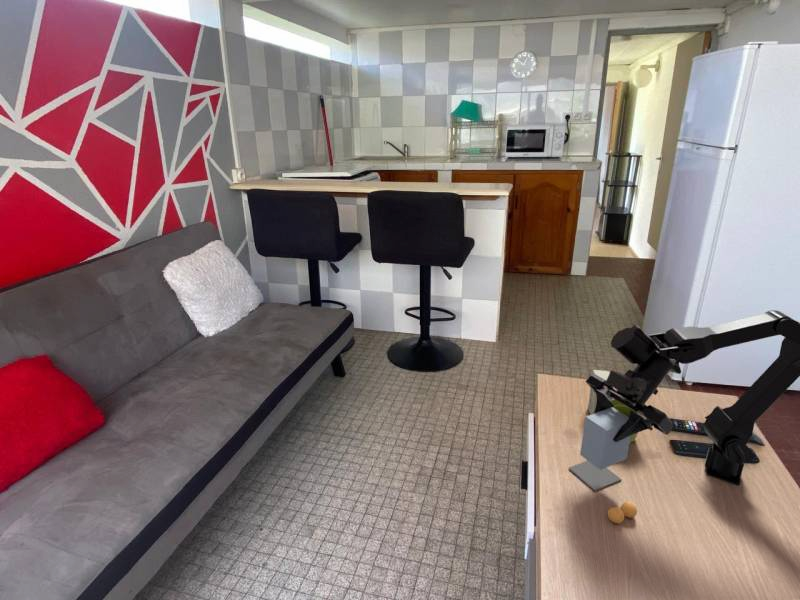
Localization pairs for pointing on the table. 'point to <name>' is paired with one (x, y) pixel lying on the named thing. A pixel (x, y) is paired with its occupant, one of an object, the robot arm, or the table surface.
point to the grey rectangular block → (604, 438)
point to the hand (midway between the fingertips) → (602, 433)
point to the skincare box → (592, 394)
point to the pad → (594, 475)
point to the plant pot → (625, 411)
